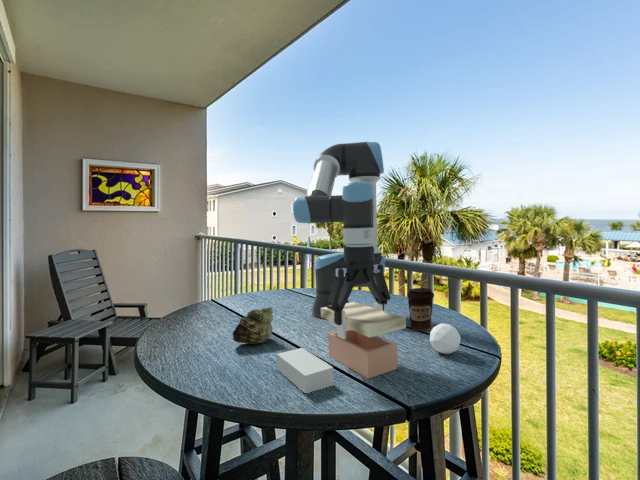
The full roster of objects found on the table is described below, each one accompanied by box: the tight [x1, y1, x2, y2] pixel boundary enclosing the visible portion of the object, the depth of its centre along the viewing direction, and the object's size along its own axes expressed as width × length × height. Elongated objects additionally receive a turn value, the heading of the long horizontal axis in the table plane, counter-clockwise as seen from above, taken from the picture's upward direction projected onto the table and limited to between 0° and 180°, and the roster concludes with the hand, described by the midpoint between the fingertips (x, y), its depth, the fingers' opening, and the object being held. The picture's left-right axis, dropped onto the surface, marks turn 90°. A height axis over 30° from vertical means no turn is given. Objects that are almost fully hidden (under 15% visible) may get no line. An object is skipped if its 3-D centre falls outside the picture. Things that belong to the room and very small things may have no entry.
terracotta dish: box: [328, 328, 398, 380], centre depth 84 cm, size 16×9×6 cm, turn 32°
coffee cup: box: [407, 287, 435, 332], centre depth 108 cm, size 9×8×13 cm
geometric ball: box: [429, 323, 461, 355], centre depth 89 cm, size 8×8×8 cm
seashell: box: [232, 307, 274, 345], centre depth 101 cm, size 11×11×10 cm
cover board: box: [321, 301, 407, 337], centre depth 84 cm, size 20×11×2 cm, turn 32°
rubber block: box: [276, 347, 335, 394], centre depth 77 cm, size 14×7×4 cm, turn 32°
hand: (360, 332), depth 84 cm, fingers closed on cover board, 11 cm apart
